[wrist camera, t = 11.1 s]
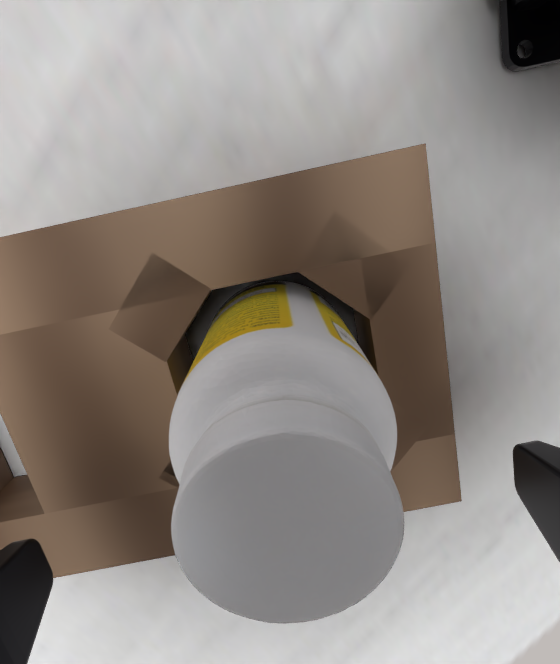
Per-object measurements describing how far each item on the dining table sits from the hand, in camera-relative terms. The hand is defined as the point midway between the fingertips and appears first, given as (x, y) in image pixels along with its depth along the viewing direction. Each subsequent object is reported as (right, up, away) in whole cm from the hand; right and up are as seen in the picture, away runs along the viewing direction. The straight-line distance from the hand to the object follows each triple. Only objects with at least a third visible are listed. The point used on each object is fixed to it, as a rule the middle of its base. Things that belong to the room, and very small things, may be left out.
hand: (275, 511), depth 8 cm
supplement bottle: (0, +3, +9) cm, 9 cm away
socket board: (-5, +2, +9) cm, 10 cm away
